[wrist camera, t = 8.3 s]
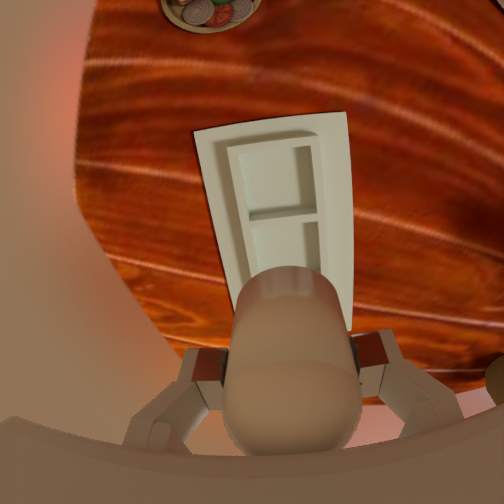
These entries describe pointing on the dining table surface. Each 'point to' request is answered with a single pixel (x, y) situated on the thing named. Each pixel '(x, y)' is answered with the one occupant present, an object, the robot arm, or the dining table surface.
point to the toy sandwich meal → (208, 13)
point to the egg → (290, 367)
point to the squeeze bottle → (495, 380)
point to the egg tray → (282, 198)
